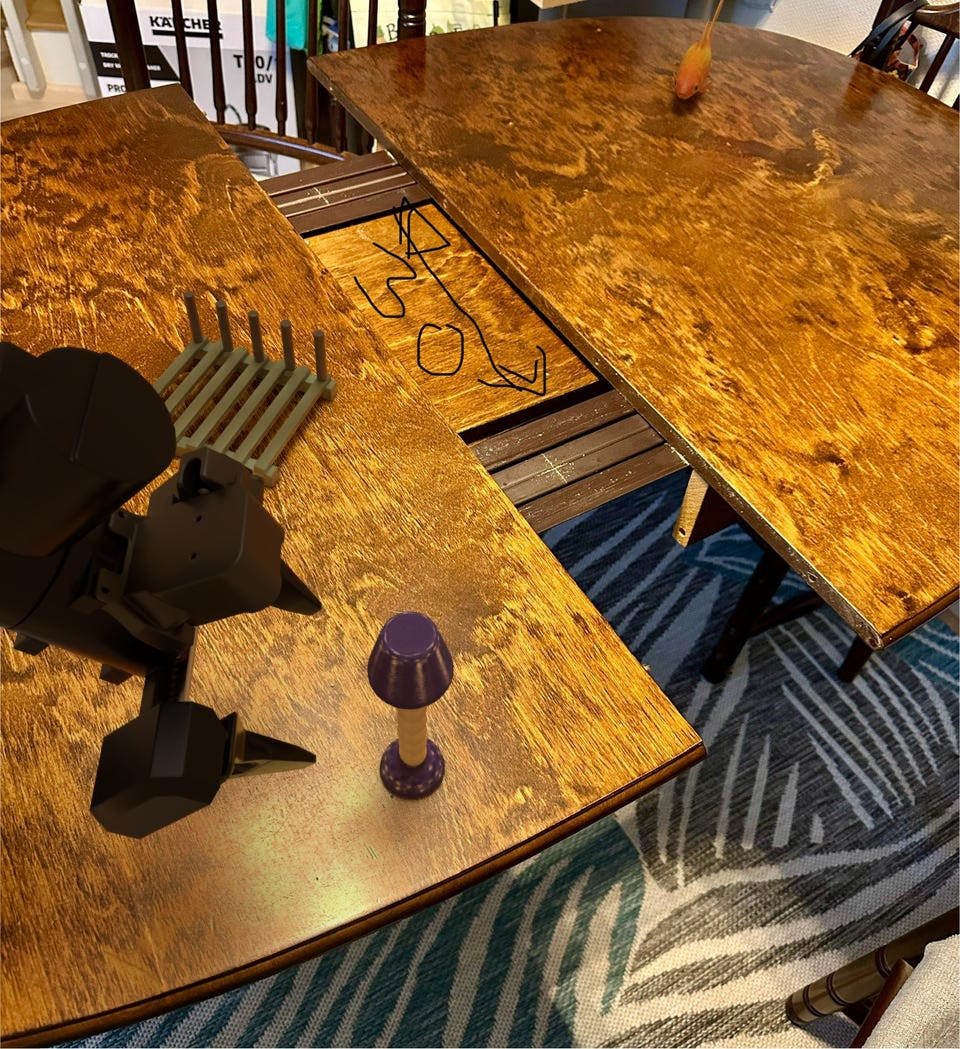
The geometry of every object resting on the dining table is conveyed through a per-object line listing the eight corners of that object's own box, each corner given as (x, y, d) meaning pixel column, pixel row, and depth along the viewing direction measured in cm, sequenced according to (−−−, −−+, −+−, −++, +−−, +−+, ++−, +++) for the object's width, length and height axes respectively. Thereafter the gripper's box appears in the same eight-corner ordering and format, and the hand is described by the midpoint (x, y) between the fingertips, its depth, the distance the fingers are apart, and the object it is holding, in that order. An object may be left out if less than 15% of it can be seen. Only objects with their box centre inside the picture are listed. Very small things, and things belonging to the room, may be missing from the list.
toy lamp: (389, 815, 56) (391, 688, 43) (358, 753, 59) (350, 615, 46) (456, 781, 58) (477, 649, 45) (423, 722, 60) (434, 581, 47)
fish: (694, 131, 117) (715, 55, 109) (654, 121, 118) (671, 44, 110) (729, 53, 129) (750, -21, 121) (692, 44, 130) (710, -30, 122)
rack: (119, 437, 74) (98, 374, 69) (196, 349, 82) (183, 285, 76) (272, 488, 72) (263, 426, 67) (337, 392, 79) (333, 330, 74)
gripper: (101, 694, 29) (431, 805, 39) (175, 323, 41) (415, 481, 50) (-60, 799, 34) (266, 873, 44) (46, 444, 46) (286, 566, 56)
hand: (314, 681), depth 48 cm, fingers open, 9 cm apart
